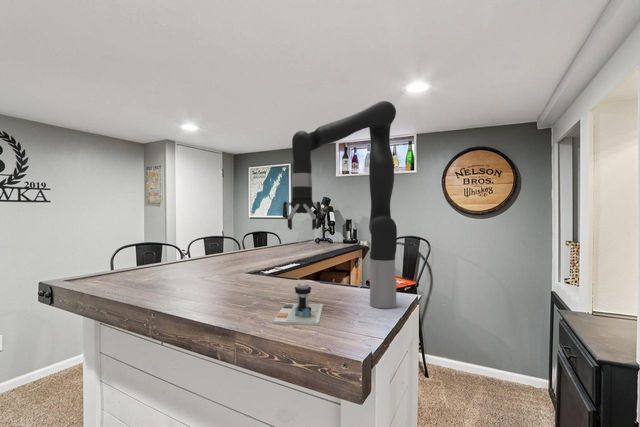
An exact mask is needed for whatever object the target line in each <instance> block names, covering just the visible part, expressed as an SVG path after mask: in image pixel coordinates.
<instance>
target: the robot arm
mask: <svg viewBox="0 0 640 427" xmlns="http://www.w3.org/2000/svg"><path fill="white" fill-rule="evenodd" d="M396 114H397V109H396V107H395V105H394V104H393V103H392V102H390V101H385V100H382V101H378V102H376V103H374V104H372V105H371V106H369V107H367V108H365V109H363V110H361V111H359V112H357V113H355V114H352V115H349V116H346V117H344V118H341V119H338V120H336V121H332V122H329V123H326V124H323V125H321V126H318V127H317V128H316V129H315V130H314V131H311V132H309V133H308V132H307V131H304V130H299V131H296V132H295V133H294V135H293V137H292V140H291V142H292V143H291V148H292V149H291V150H292V159H293V161H292V180H291V201H290V202H288V201H283V204H282V218H284V219H287V228H288V229H289V230H290V231H291V230H293V217H294V216H295V215H296V214H309V216H310V217H311V218H312V220H311V221H312V222H311V229H312V231H313V230H316V228H317V221H318V219H320V218H322V206H321V202H320V201H316V202H314V201H313V176H312V167H313V166H312V160H311V157H312V156H311V153H312V152H313V151H315V150H316V149H319V148H322V147H323V146H326V145H329V144H332V143H335V142H338V141H340V140H343V139H346V138H347V137H349V136H352V135H353V134H355V133H357V132H359V131H363V130H364V129H367V128H368V129H369V137H370V138H369V139H370V149H369V150H370V151H369V163H368V164H369V165H368V166H369V169H368V174H369V193H370V217H369V223H368V224H369V225H368V229H369V234H370V238H371V239H370V251H369V305H370V306H371V307H373V308H376V309H393V308H394V309H395V308H397V281H396V253H397V249H398V248H397V244H398V243H397V241H398V239H397V236H398V228H397V225H396V222H395V221H394V219H393V218H392V216H391V215H392V213H391V199H392V195H393V191H394V184H395V183H394V182H395V162H394V157H393V152H392V147H391V145H390V144H391V143H390V141H391V140H390V139H391V138H390V136H391V126H392V123H393V122H394V120H395V118H396ZM290 206H291V207H292V210H291V212H290V213H289V214H288V209H289V208H290ZM313 207H315V208H316V211H317V212H316V214H317V215H315V213H314V212H313V210H312V208H313Z"/></svg>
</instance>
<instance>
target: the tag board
mask: <svg viewBox="0 0 640 427" xmlns="http://www.w3.org/2000/svg"><path fill="white" fill-rule="evenodd" d="M297 305H298V302H296V303H293V302H291V303H290V302H285V303H284V304H283V306H282V308H281V309H280V311H279V312H278V313H277V315H276V317H275V318H274V319H273V321H272V324H273V325H295V326H296V325H300V326H301V325H304V326H320V320H321V316H322V313H323V307H324V304H323V303H308V306H309V307H311V312H315V313H311V314H312V315H315V316H309V317H300V316H295V308H296V307H298V306H297Z"/></svg>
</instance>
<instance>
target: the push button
mask: <svg viewBox="0 0 640 427" xmlns="http://www.w3.org/2000/svg"><path fill="white" fill-rule="evenodd" d="M294 290H295V294H297V303H298V305H297V306H298V307H296V308H295V316H300V317H309V316H315V315H312V314H311V313H315V312H311V307H309V306H308V304H310V303H309V301H310V300H309V299H310V298H309V296H310V295H309V294H311V291H312V286H310V285H309V283H298V284H297V286H295V287H294Z"/></svg>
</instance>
